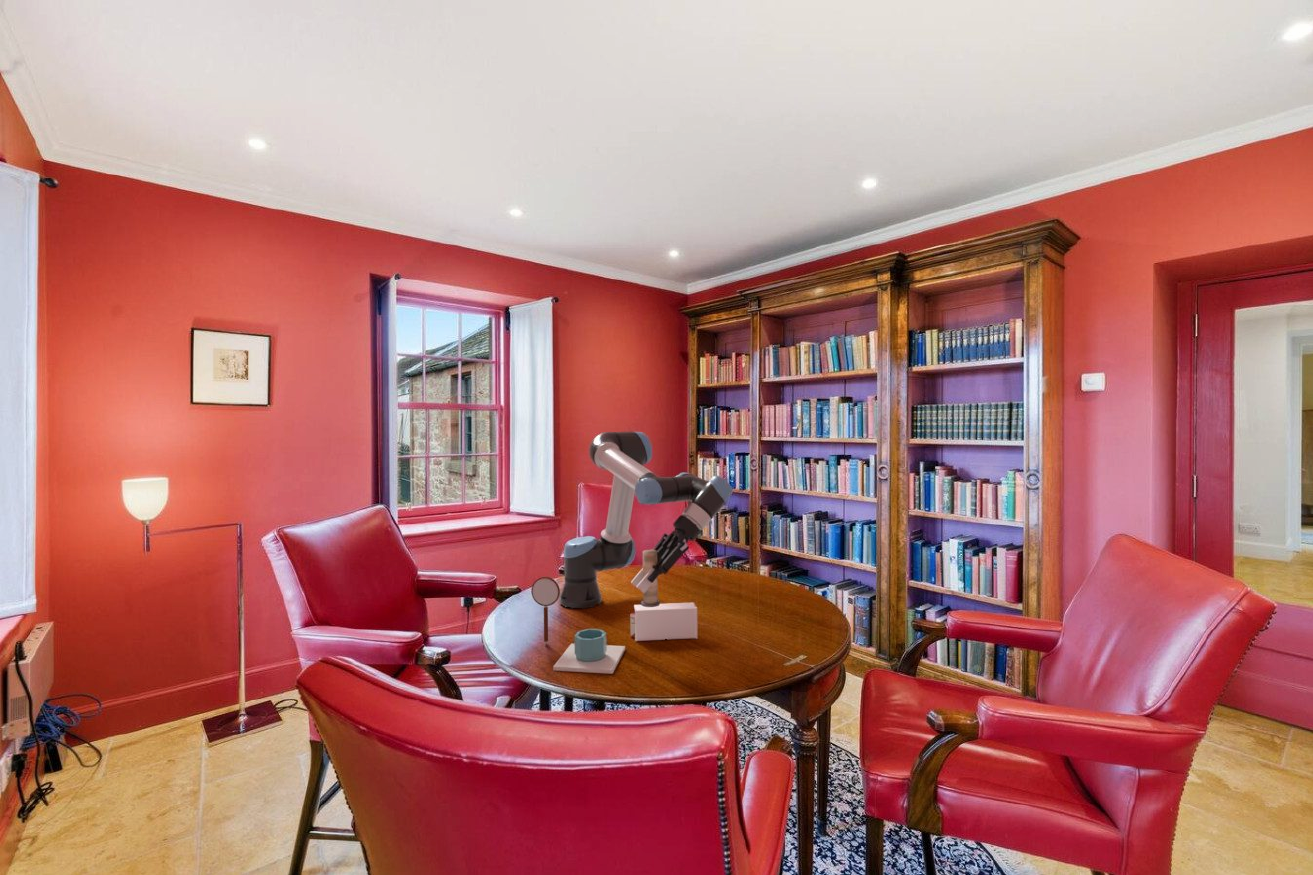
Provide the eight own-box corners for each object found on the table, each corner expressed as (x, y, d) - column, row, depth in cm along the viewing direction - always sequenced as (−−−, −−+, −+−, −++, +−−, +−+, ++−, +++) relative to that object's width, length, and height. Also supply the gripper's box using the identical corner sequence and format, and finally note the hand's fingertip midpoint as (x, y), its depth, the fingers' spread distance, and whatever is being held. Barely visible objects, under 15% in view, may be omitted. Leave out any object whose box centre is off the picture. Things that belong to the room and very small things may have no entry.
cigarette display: (694, 632, 173) (694, 602, 172) (697, 638, 167) (697, 607, 167) (630, 635, 171) (629, 604, 171) (631, 642, 165) (630, 610, 165)
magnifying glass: (531, 644, 163) (530, 577, 163) (533, 642, 165) (532, 575, 165) (559, 646, 162) (558, 577, 162) (561, 643, 164) (560, 576, 164)
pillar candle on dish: (642, 600, 156) (642, 549, 155) (661, 601, 155) (660, 549, 155) (639, 606, 150) (638, 553, 150) (658, 607, 150) (657, 553, 149)
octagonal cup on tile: (571, 646, 162) (571, 622, 161) (625, 649, 159) (624, 625, 159) (553, 670, 146) (552, 643, 146) (612, 673, 143) (612, 646, 143)
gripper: (713, 536, 150) (657, 605, 144) (687, 526, 166) (635, 588, 160) (696, 518, 148) (638, 587, 142) (670, 510, 164) (618, 571, 158)
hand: (637, 587), depth 151 cm, fingers closed on pillar candle on dish, 4 cm apart
